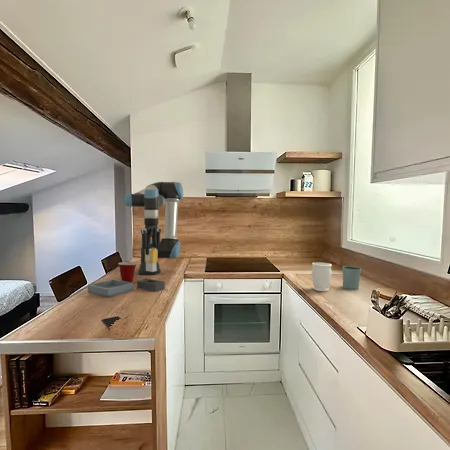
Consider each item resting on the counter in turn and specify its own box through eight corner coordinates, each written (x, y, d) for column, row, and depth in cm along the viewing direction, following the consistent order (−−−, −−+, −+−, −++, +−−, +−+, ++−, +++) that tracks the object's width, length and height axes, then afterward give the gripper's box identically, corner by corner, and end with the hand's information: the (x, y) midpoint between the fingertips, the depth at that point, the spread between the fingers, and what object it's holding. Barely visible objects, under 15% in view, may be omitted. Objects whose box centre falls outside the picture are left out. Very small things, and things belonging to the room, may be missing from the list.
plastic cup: (140, 281, 176) (140, 261, 175) (128, 285, 166) (129, 264, 165) (126, 279, 180) (126, 260, 179) (113, 283, 170) (113, 263, 169)
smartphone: (118, 315, 118) (130, 326, 106) (118, 317, 118) (130, 328, 106) (100, 319, 113) (110, 331, 102) (100, 320, 113) (110, 333, 102)
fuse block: (146, 285, 167) (146, 278, 167) (164, 288, 160) (164, 281, 160) (137, 287, 161) (137, 280, 161) (155, 291, 154) (155, 284, 154)
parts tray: (113, 285, 164) (113, 279, 164) (133, 290, 156) (133, 282, 156) (87, 292, 150) (87, 284, 150) (108, 297, 142) (108, 289, 142)
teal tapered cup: (338, 286, 173) (338, 266, 173) (351, 285, 177) (351, 265, 176) (350, 290, 164) (351, 269, 163) (364, 289, 167) (365, 268, 167)
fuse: (149, 269, 163) (149, 248, 163) (157, 270, 160) (157, 249, 160) (144, 270, 160) (144, 249, 160) (152, 272, 157) (152, 250, 157)
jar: (318, 292, 158) (319, 265, 157) (307, 287, 168) (308, 262, 167) (334, 291, 161) (335, 265, 160) (323, 287, 171) (324, 261, 170)
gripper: (157, 217, 168) (156, 257, 169) (134, 217, 153) (134, 261, 155) (166, 217, 164) (166, 258, 165) (145, 218, 150) (144, 262, 151)
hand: (151, 259), depth 160 cm, fingers closed on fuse, 4 cm apart
